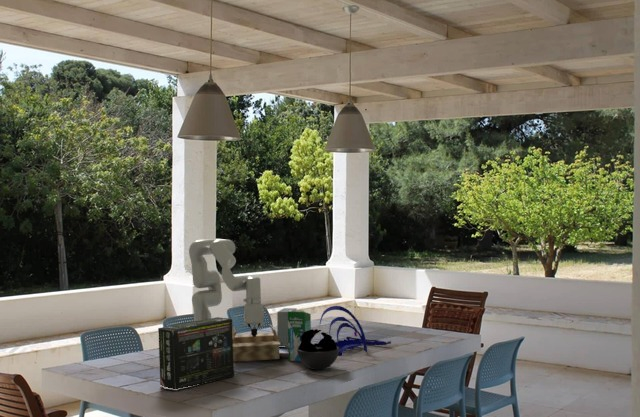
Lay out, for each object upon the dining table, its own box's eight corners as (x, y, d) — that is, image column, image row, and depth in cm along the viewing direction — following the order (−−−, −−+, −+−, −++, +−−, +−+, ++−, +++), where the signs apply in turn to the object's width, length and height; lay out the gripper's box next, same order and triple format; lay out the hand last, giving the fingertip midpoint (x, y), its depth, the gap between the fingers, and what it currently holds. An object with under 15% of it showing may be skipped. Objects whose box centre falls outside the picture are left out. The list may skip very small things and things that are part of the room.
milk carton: (311, 358, 382) (310, 309, 381) (305, 361, 373) (304, 311, 373) (294, 357, 385) (294, 308, 384) (288, 360, 376) (287, 311, 376)
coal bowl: (298, 364, 366) (298, 326, 366) (339, 364, 366) (338, 325, 366) (296, 374, 346) (295, 333, 346) (339, 373, 346) (338, 333, 346)
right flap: (277, 339, 381) (273, 330, 381) (273, 334, 398) (269, 324, 397) (278, 339, 381) (274, 329, 381) (274, 333, 398) (270, 324, 397)
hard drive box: (290, 348, 408) (290, 311, 407) (277, 348, 409) (276, 311, 409) (297, 343, 423) (296, 307, 423) (284, 342, 424) (283, 307, 424)
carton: (233, 364, 369) (232, 346, 369) (228, 351, 401) (228, 335, 401) (281, 361, 374) (281, 343, 374) (273, 349, 406) (273, 332, 406)
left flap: (231, 342, 377) (235, 331, 377) (229, 336, 393) (233, 326, 394) (232, 342, 377) (236, 331, 377) (230, 336, 393) (234, 326, 394)
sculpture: (392, 346, 405) (387, 299, 404) (350, 363, 380) (345, 313, 379) (344, 340, 429) (339, 296, 428) (301, 355, 404) (297, 308, 403)
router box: (219, 373, 352) (217, 316, 352) (235, 376, 345) (234, 318, 345) (157, 388, 325) (156, 327, 324) (173, 392, 318) (172, 329, 317)
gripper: (239, 302, 382) (240, 338, 382) (268, 301, 385) (269, 336, 385) (238, 300, 390) (239, 335, 390) (267, 299, 392) (267, 334, 392)
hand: (254, 336), depth 387 cm, fingers closed
